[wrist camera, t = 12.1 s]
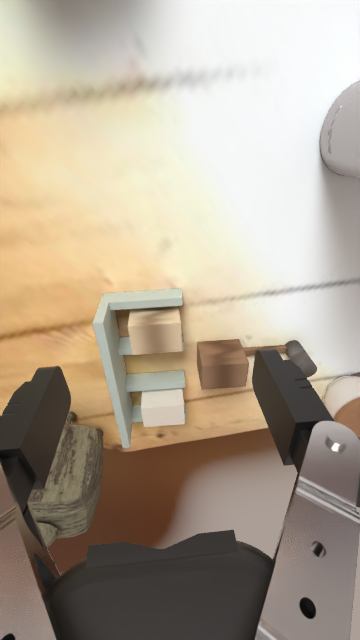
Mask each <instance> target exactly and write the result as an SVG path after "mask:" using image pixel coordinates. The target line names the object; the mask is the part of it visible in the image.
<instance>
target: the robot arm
mask: <svg viewBox="0 0 360 640" xmlns="http://www.w3.org/2000/svg"><path fill="white" fill-rule="evenodd" d="M320 148H321V154H322V157H323V160H324V162H325V163H326V165H327V166H328V167H329V168H330V169H331V170H332V171H333V172H335V173H337V174H339V175H344V176H350V177H355V178H360V81H358V82H356V83H354V84H353V85H351V86H350V87H349V88H347V89H346V90H345V91H344V92H343V93H342V94H341V95H340V96H339V97H338V98H337V100H336V101H335V102H334V104H333V105H332V107H331V108H330V110H329V112H328V114H327V116H326V118H325V121H324V124H323V127H322V131H321V138H320ZM252 383H253V389H254V392H255V395H256V397H257V400H258V402H259V404H260V407H261V409H262V412H263V414H264V417H265V419H266V422H267V424H268V427H269V429H270V432H271V434H272V437H273V439H274V442H275V444H276V447H277V449H278V451H279V454H280V456H281V459H282V462H283V464H284V465H293V464H294V465H295V467H296V469H297V472H298V474H297V477H296V481H295V484H294V488H293V491H292V495H291V498H290V502H289V505H288V508H287V512H286V515H285V519H284V522H283V526H282V529H281V533H280V535H279V539H278V542H277V545H276V549H275V553H274V555H273V559H271V558H270V557H269V556H268V555H266V554H265V553H263V552H262V551H261V550H259V549H257V548H255V547H253V546H251V545H249V544H246V543H243V542H240V541H236V538H235V534H234V530H228V531H219V532H210V533H201V534H197V535H195V536H193V537H190V538H188V539H186V540H183V541H181V542H179V543H177V544H174V545H172V546H170V547H168V548H166V549H155V548H150V547H146V546H141V545H137V544H132V543H127V542H120V543H111V544H102V545H93V546H88V553H87V558H86V559H84V560H82V561H80V562H78V563H76V564H75V565H73V566H72V567H70V568H69V569H68V570H66V571H65V572H64V573H63V574H62V575H61V576H60V574H59V572H58V569H57V567H56V565H55V563H54V561H53V560H52V558H51V556H50V554H49V552H48V550H47V547H46V544H45V542H44V539H43V537H42V534H41V532H40V529H39V527H38V524H37V522H36V519H35V517H34V514H33V511H32V509H31V506H30V504H29V502H28V499H29V497H30V494H31V491H32V490H38V489H44V488H45V484H46V481H47V478H48V475H49V472H50V469H51V466H52V463H53V459H54V456H55V453H56V450H57V447H58V444H59V441H60V437H61V434H62V431H63V428H64V425H65V422H66V419H67V416H68V412H69V409H70V405H71V395H70V391H69V389H68V386H67V383H66V380H65V378H64V375H63V372H62V370H61V368H60V367H59V366H55V367H43V368H38V369H37V371H36V372H35V374H34V376H33V378H32V380H31V382H25V383H24V384H23V385H22V386H20V387H19V388H18V389H17V390H16V391H15V392H14V394H13V395H12V397H11V399H10V401H9V403H8V406H6V408H5V410H4V411H3V413H2V416H1V417H0V640H350V632H351V621H352V610H353V600H354V588H355V578H356V567H357V556H358V546H359V533H360V514H359V513H358V512H356V507H360V438H359V437H357V436H356V434H355V433H354V432H353V431H352V430H350V429H349V428H348V427H346V426H344V425H342V424H340V423H337V422H335V420H334V419H333V418H332V416H331V414H330V413H329V411H328V410H327V408H326V407H325V405H324V404H323V402H322V401H321V399H320V398H319V396H318V394H317V393H316V391H315V390H314V388H312V385H311V384H310V382H309V381H308V380H307V378H306V376H305V374H304V373H303V371H302V370H301V368H300V367H298V366H297V365H296V364H294V363H293V362H292V361H291V360H283V359H282V358H281V356H280V354H279V353H278V351H277V350H276V349H264V350H257V351H256V353H255V360H254V368H253V376H252Z"/></svg>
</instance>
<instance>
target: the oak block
mask: <svg viewBox="0 0 360 640" xmlns="http://www.w3.org/2000/svg"><path fill="white" fill-rule="evenodd" d="M128 331H129V337H130V343H131V349H132V355H141V354H153V353H166V352H179V351H182V336H181V320H180V313H179V306H167V307H152V308H137V309H130V315H129V322H128Z"/></svg>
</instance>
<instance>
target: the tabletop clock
mask: <svg viewBox="0 0 360 640" xmlns="http://www.w3.org/2000/svg"><path fill="white" fill-rule="evenodd" d="M74 418H75V413H74V412H68V416H67V420H68V421H67V424H65V425H64V428H63V431H62V434H61V437H60V441H59V444H58V447H57V450H56V453H55V456H54V459H53V463H52V466H51V469H50V472H49V475H48V478H47V481H46V484H45V488H44V489H38V490H32V491H31V494H30V497H29V499H28V502H29V504H30V506H31V509H32V511H33V514H34V517H35V519H36V522H37V524H38V527H39V529H40V532H41V534H42V537H43V539H44V542H45V544H46V547H49V546H50V545H51V544H52V543H53V541H54V540H55V539H58V538H68V537H73V536H77V535H79V534H81V533H84V532H86V531H87V529H88V527H89V526H90V524H91V522H92V519H93V517H94V514H95V511H96V507H97V503H98V499H99V494H100V490H101V479H102V464H103V438H102V436H103V431H102V430H100V429H99V430H97V429H95V428H92V427H90V426H85V425H74V424H70V423H71V420H73V419H74ZM52 560H53V559H52ZM53 561H54V560H53ZM54 563H55V562H54Z"/></svg>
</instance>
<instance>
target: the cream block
mask: <svg viewBox="0 0 360 640" xmlns="http://www.w3.org/2000/svg"><path fill="white" fill-rule="evenodd" d="M141 412H142V418H143V424H144V427H154V426H166V425H178V424H185V417H184V400H183V391H182V388H172V389H159V390H146V391H142V399H141Z"/></svg>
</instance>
